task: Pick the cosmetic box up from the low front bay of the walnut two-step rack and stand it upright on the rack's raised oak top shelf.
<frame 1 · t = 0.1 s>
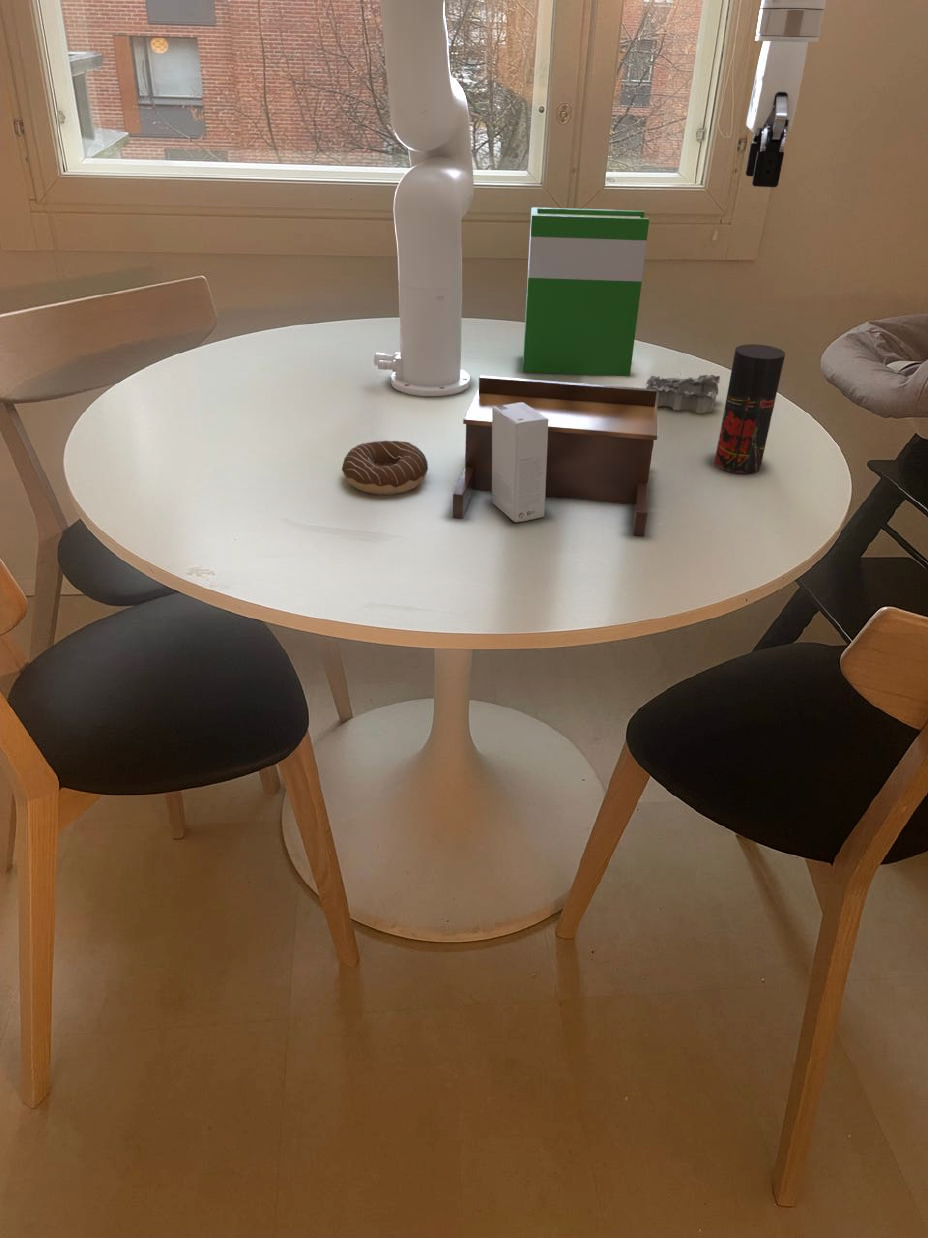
hand: (760, 180, 120), 31 cm above the table, tool pointing down, fingers open, 9 cm apart
step rack: (554, 493, 111), on the table
cosmetic box: (516, 511, 107), on the table
egg carton: (679, 404, 138), on the table
donut: (385, 482, 113), on the table
hardback book: (575, 368, 152), on the table
deodorant: (737, 466, 119), on the table
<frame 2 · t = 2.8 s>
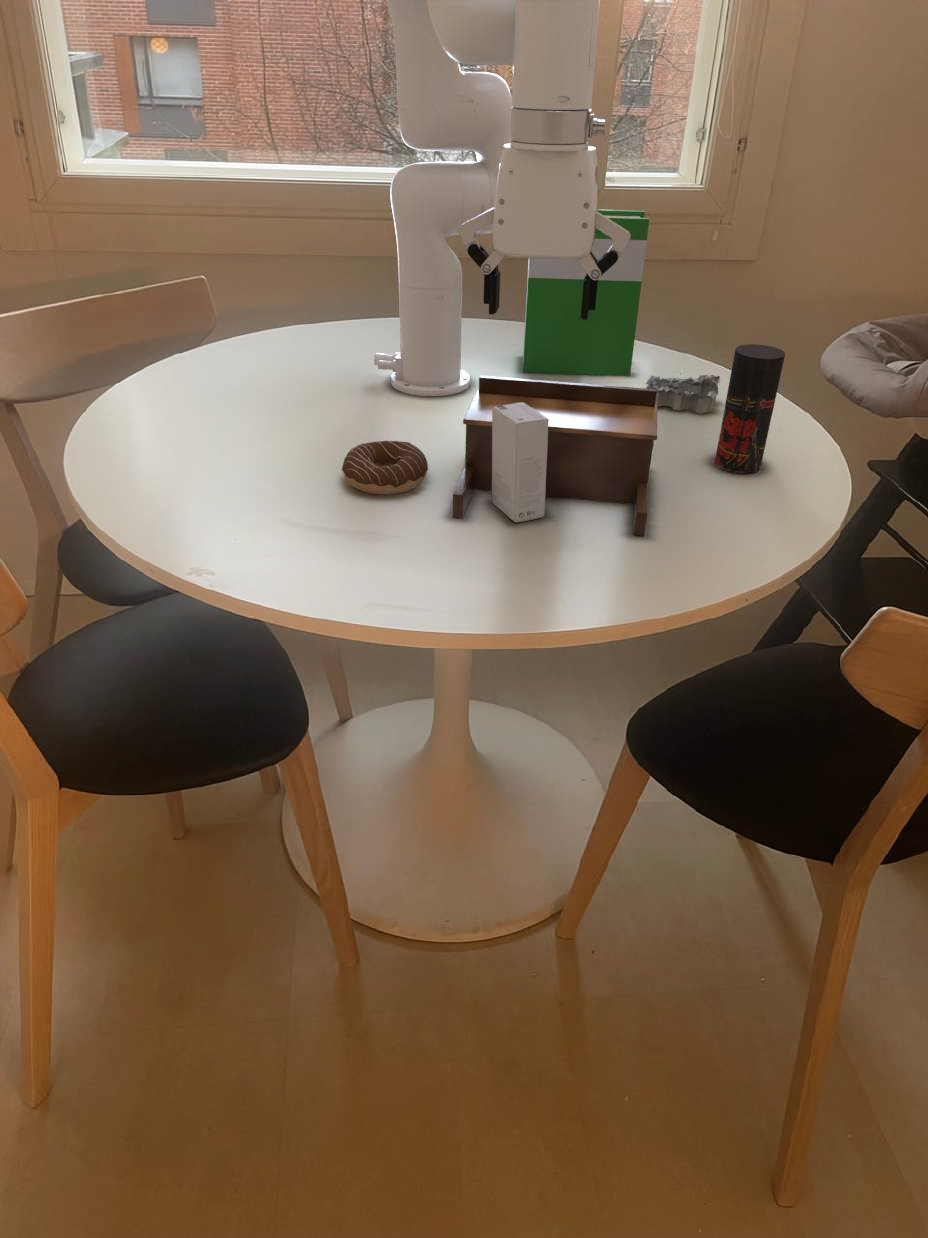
hand: (538, 313, 95), 22 cm above the table, tool pointing down, fingers open, 9 cm apart
nothing on the table moved.
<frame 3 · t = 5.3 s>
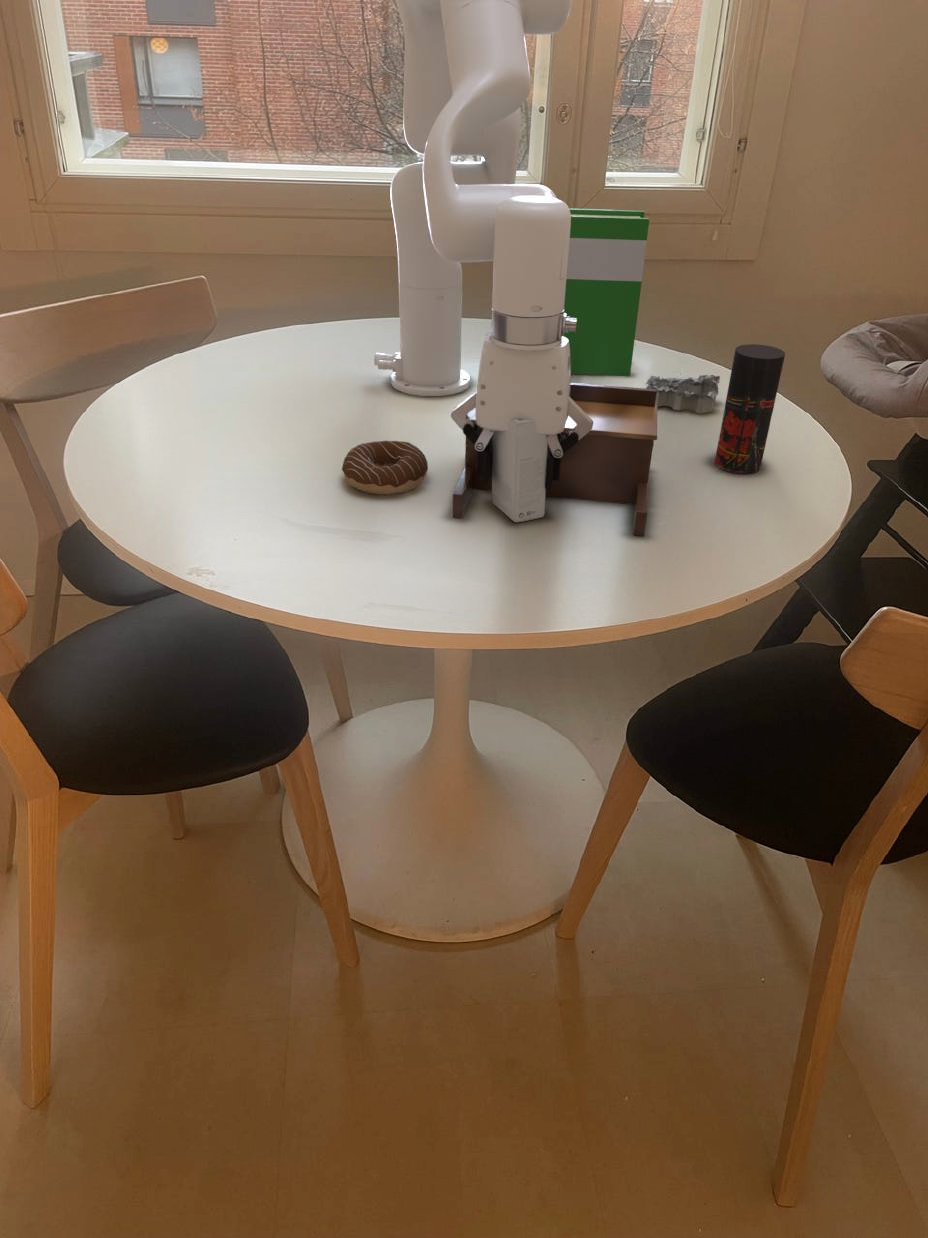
hand: (518, 481, 105), 4 cm above the table, tool pointing down, fingers closed on cosmetic box, 6 cm apart
cosmetic box: (516, 511, 107), on the table, touching gripper
everything else where it was.
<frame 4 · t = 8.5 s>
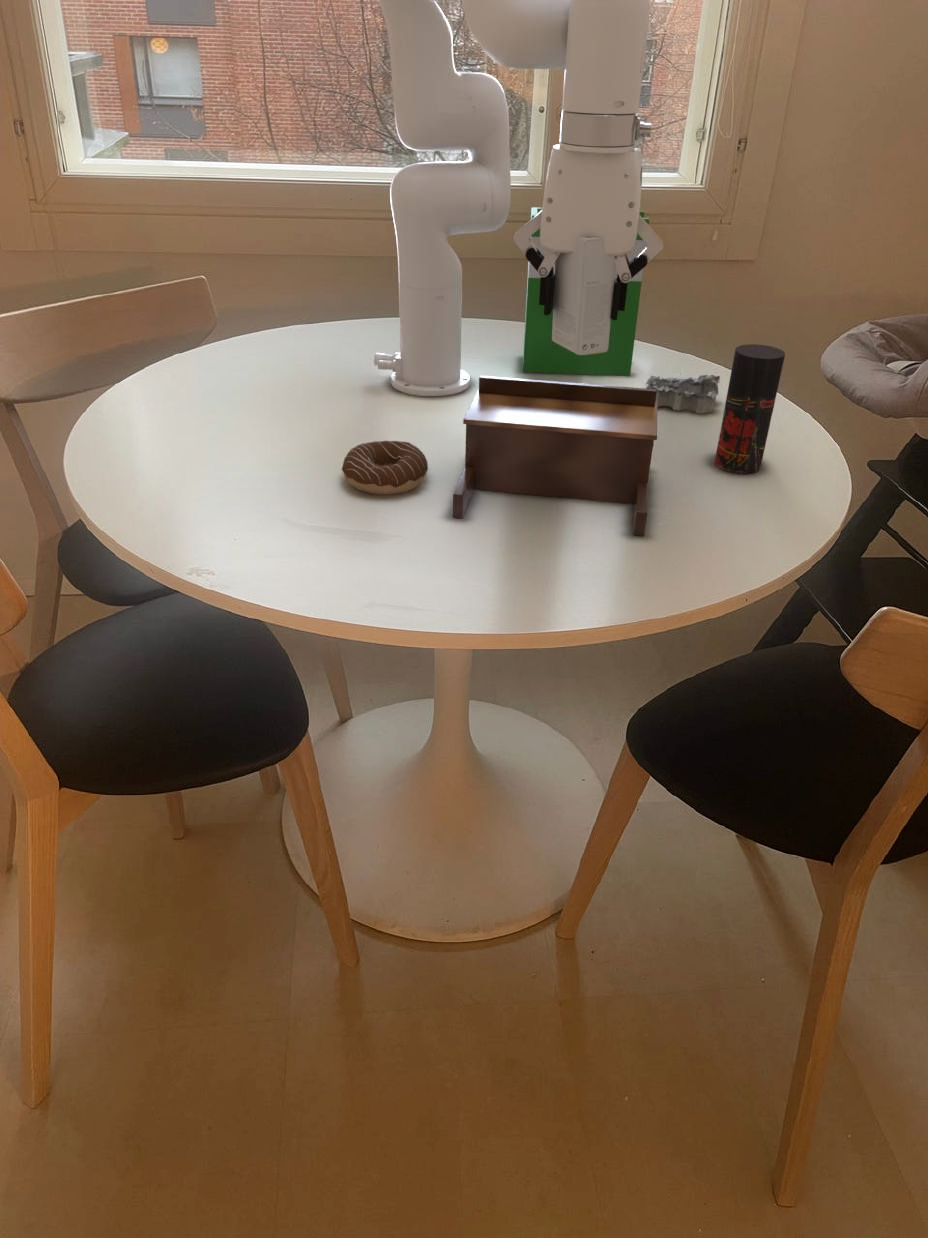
hand: (581, 313, 100), 21 cm above the table, tool pointing down, fingers closed on cosmetic box, 6 cm apart
cosmetic box: (577, 348, 102), point 17 cm above the table, touching gripper
everything else where it was.
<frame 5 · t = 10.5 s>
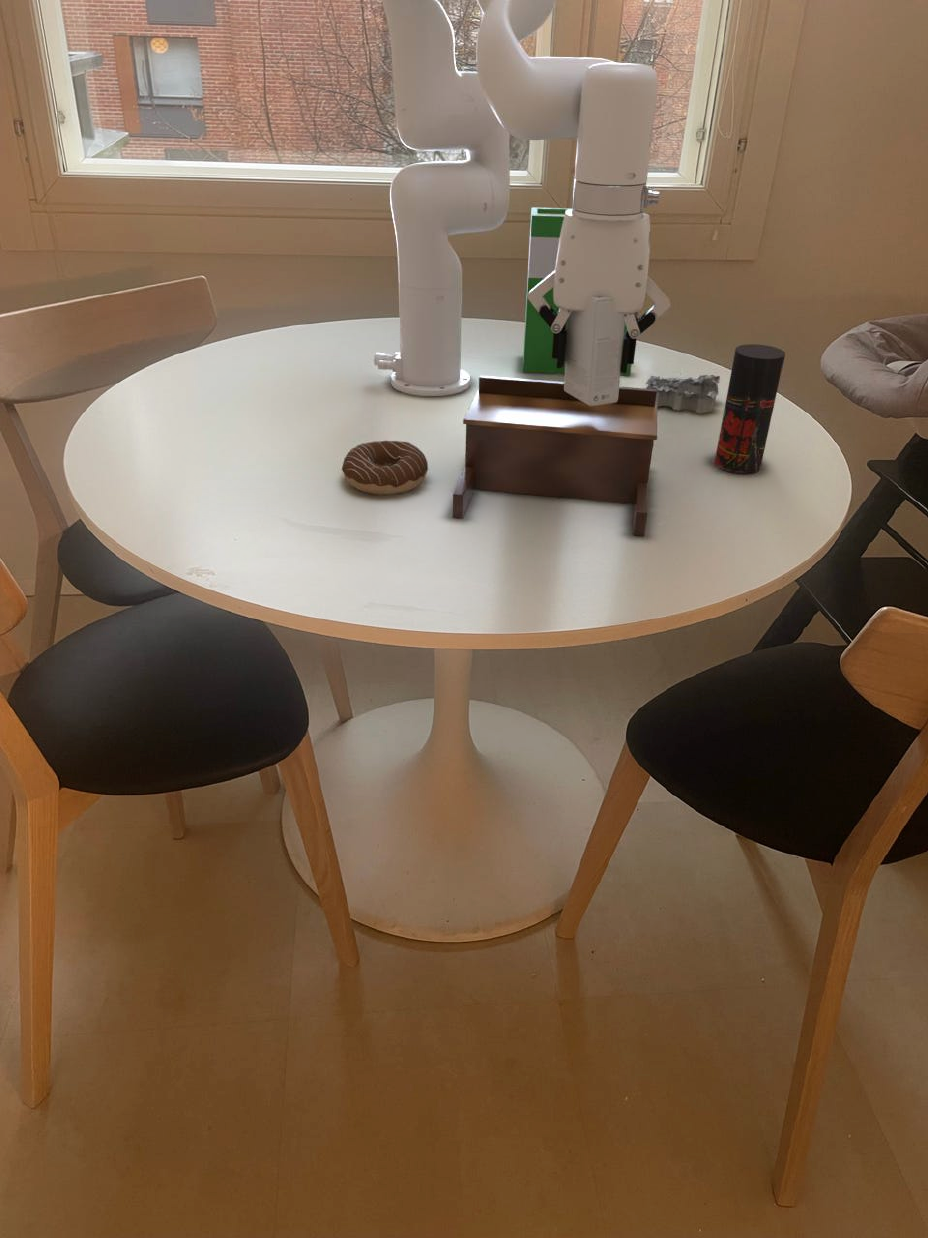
hand: (592, 365, 105), 15 cm above the table, tool pointing down, fingers closed on cosmetic box, 6 cm apart
cosmetic box: (588, 398, 107), point 11 cm above the table, touching gripper
everything else where it was.
when the fingers open (13 cm above the table, at t = 11.8 s): cosmetic box stays where it is, resting on step rack.
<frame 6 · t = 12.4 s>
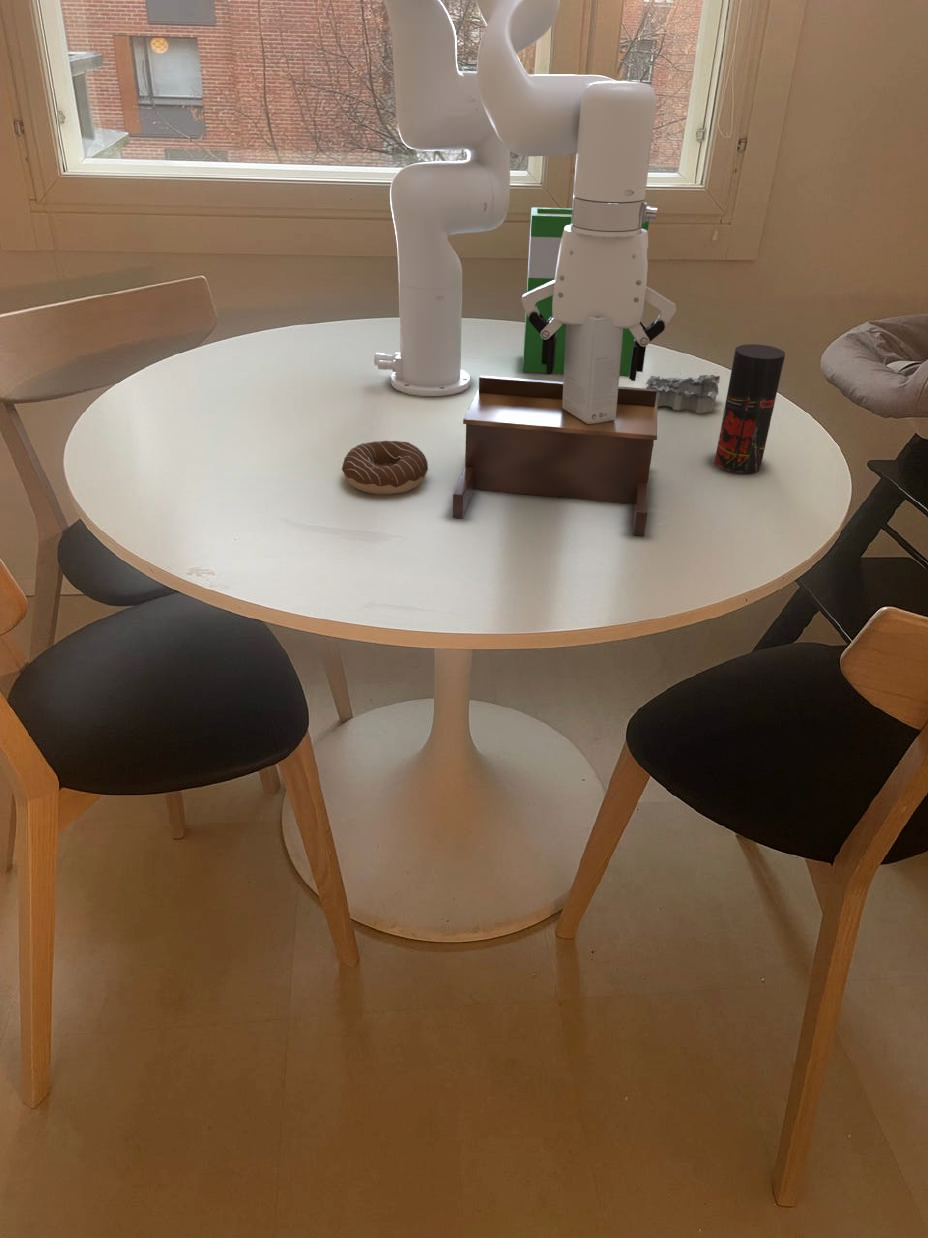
hand: (591, 373, 105), 14 cm above the table, tool pointing down, fingers open, 9 cm apart
cosmetic box: (586, 416, 108), point 9 cm above the table, touching step rack
everything else where it was.
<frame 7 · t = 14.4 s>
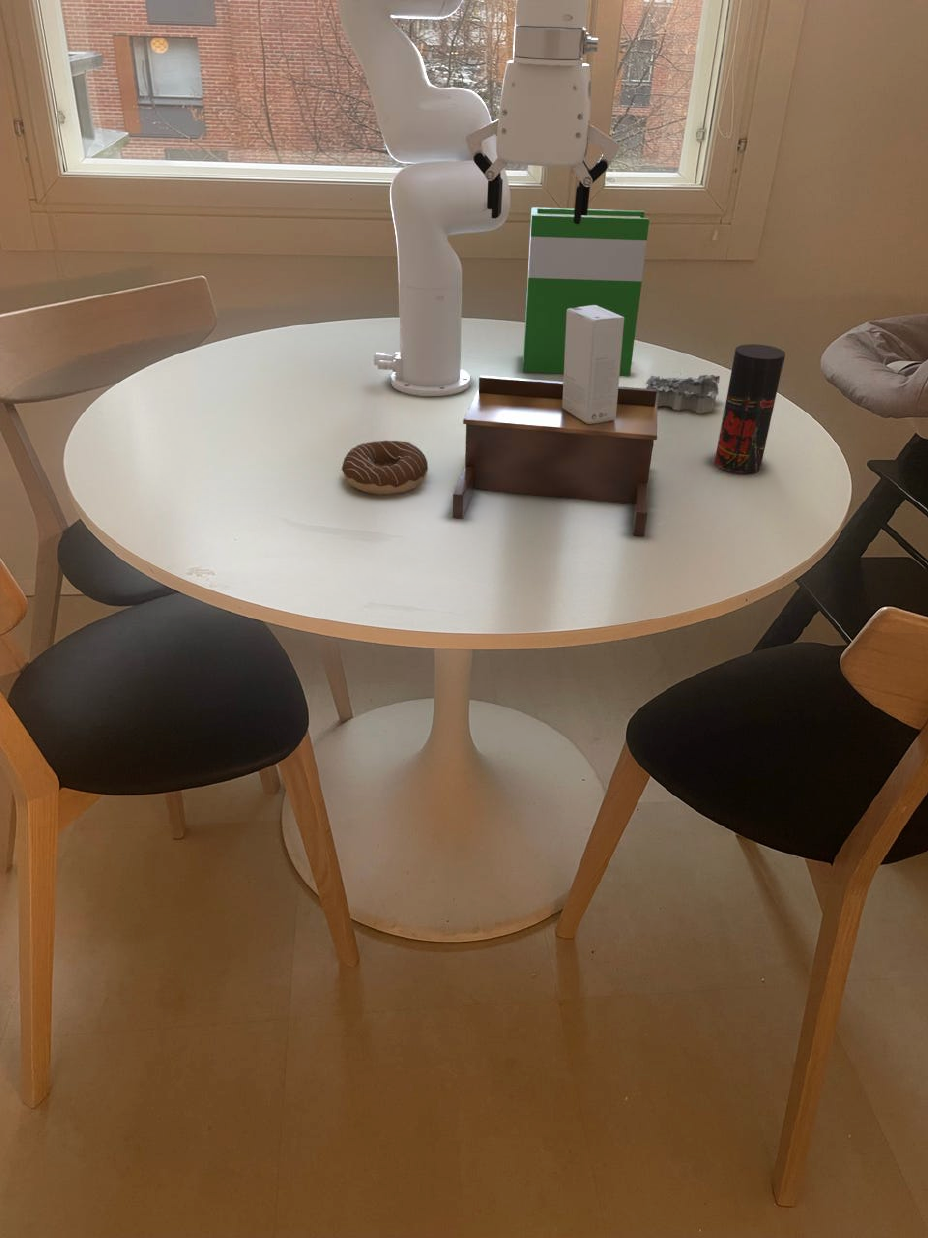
hand: (536, 218, 106), 29 cm above the table, tool pointing down, fingers open, 9 cm apart
nothing on the table moved.
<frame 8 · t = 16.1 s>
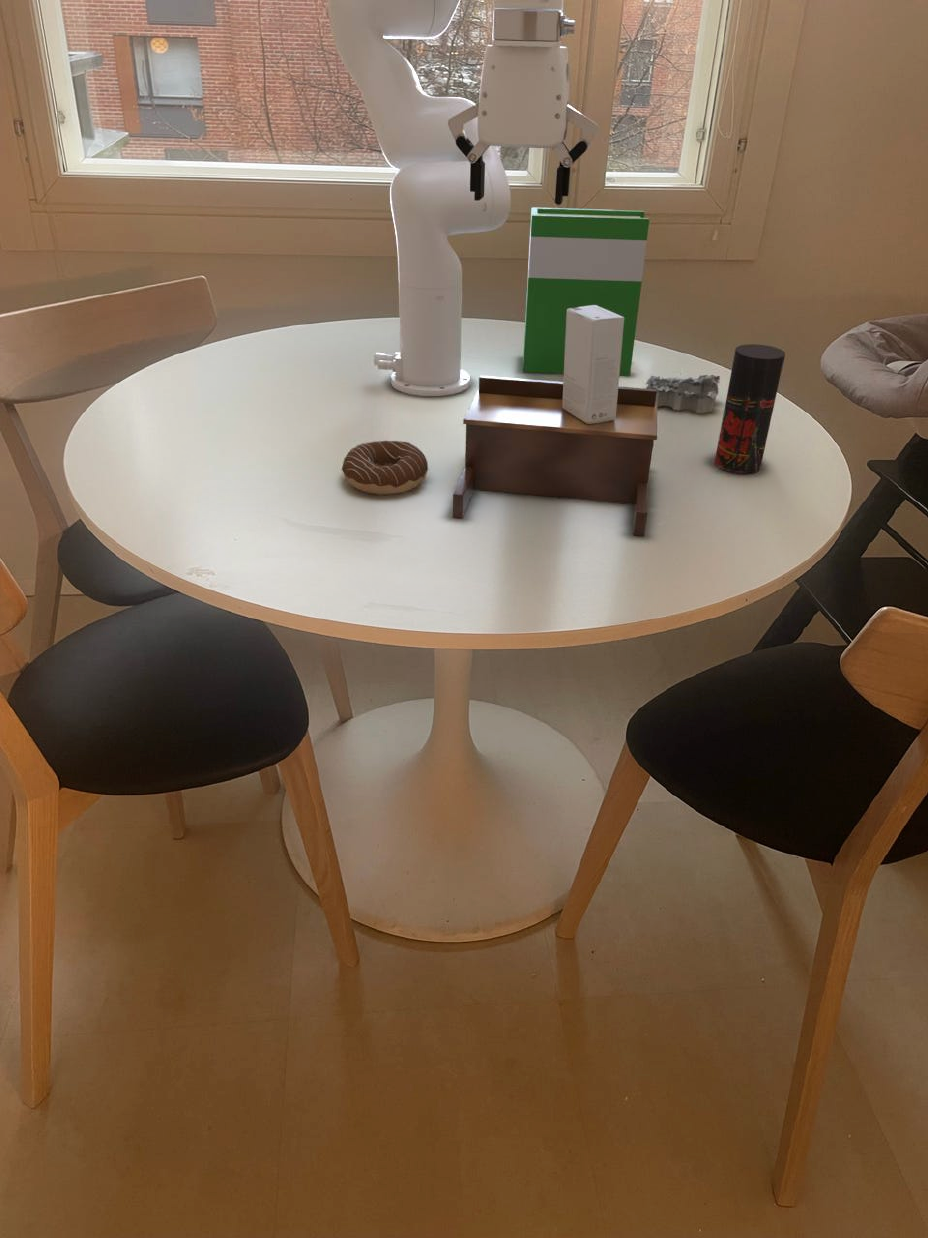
hand: (518, 200, 108), 30 cm above the table, tool pointing down, fingers open, 9 cm apart
nothing on the table moved.
at the end: cosmetic box inside the target area on the step rack (2.9 cm from its centre), point 8.8 cm above the step rack's base; cosmetic box tilted 0°; the gripper is holding nothing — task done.
